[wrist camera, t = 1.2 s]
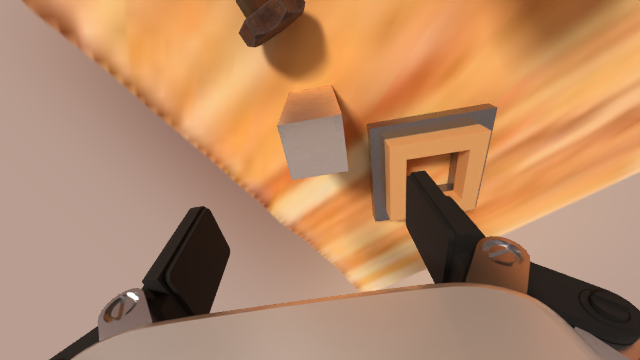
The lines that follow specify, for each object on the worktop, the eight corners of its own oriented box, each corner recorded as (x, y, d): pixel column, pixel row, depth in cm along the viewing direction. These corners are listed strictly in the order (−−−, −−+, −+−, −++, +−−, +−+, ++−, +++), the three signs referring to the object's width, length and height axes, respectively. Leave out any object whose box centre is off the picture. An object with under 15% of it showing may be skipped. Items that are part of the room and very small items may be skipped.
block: (331, 85, 25) (341, 114, 16) (337, 126, 27) (348, 171, 19) (289, 92, 25) (277, 125, 17) (298, 132, 27) (291, 180, 19)
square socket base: (488, 103, 26) (511, 113, 23) (469, 200, 33) (485, 217, 30) (367, 124, 27) (373, 135, 24) (373, 214, 34) (378, 232, 31)
